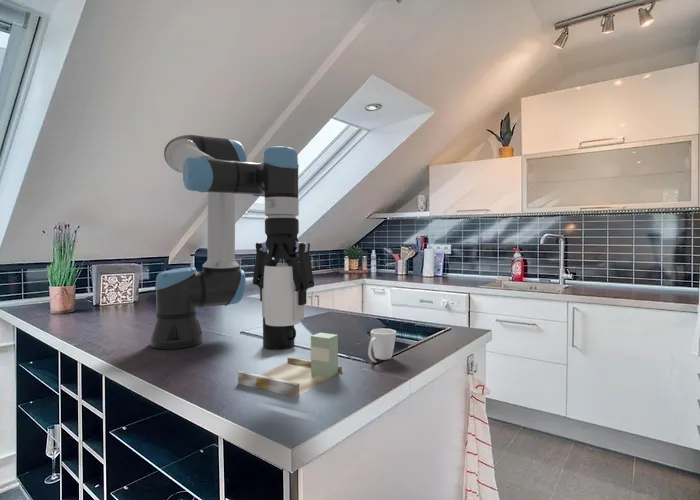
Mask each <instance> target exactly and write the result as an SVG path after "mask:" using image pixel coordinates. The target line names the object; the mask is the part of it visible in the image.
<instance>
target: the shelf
mask: <svg viewBox="0 0 700 500" xmlns="http://www.w3.org/2000/svg"><path fill="white" fill-rule="evenodd" d="M340 373H343V367H342V366H340V365H338V373H336V374H334V375H332V376H330V377H325V376H320V375H315V374H311V360H309V359H307V360H306V359H304V358H303V359H302V358H297V357H291V356H288V357H287V362H285V363H283V364H280V365H278V366H276V367H273V368H271V369H269V370H266V371H264V372H262V373H259V374H258V373H253V372H249V371H243V370H240V371H238V372H237V376H238V377H237V381H238V382H237V383H238V385H242V386H248V387H252V388H256V389H259V390H263V391H268V392H271V393H277V394H279V395H285V396H289V397H293V398H299V397H301V395H303V394H305V393H307V392H309V391H310V390H312V389H314V388H315V387H318V386H319V385H321V384H323V383H324V382H326V381H328V380H330V379H333V377H335V376H337V375H339V374H340Z"/></svg>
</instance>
